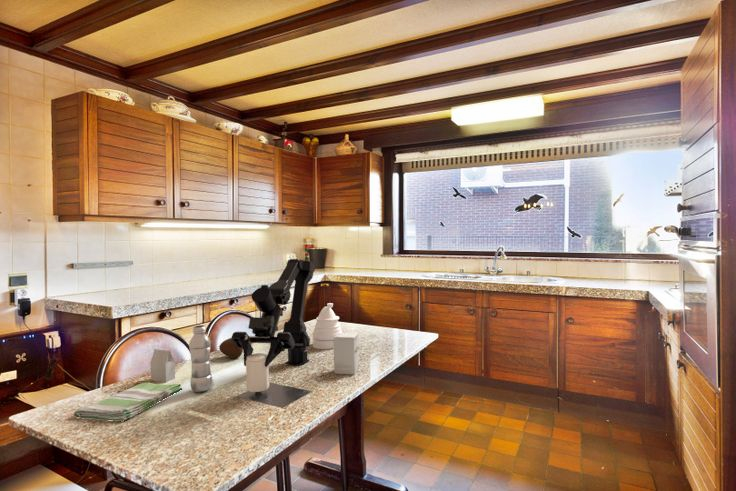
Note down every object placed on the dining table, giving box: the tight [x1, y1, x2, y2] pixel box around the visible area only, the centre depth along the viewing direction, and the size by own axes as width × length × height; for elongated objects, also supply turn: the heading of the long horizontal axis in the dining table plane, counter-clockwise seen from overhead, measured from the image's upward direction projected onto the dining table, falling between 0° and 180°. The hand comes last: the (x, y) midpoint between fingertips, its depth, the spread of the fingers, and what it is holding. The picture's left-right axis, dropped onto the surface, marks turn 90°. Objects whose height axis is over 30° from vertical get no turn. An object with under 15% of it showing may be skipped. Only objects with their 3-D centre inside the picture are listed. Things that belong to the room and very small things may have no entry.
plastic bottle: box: [188, 324, 214, 393], centre depth 127 cm, size 6×7×20 cm
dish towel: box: [72, 382, 183, 422], centre depth 119 cm, size 17×23×4 cm
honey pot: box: [312, 302, 343, 350], centre depth 176 cm, size 13×13×18 cm
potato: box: [218, 337, 244, 359], centre depth 162 cm, size 7×10×8 cm
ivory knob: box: [245, 352, 270, 392], centre depth 122 cm, size 6×6×10 cm
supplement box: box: [333, 332, 360, 375], centre depth 142 cm, size 7×7×13 cm
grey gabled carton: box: [149, 348, 176, 383], centre depth 138 cm, size 4×7×10 cm, turn 69°
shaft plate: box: [235, 381, 313, 409], centre depth 121 cm, size 18×13×4 cm
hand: (255, 365), depth 120 cm, fingers closed on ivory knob, 6 cm apart
